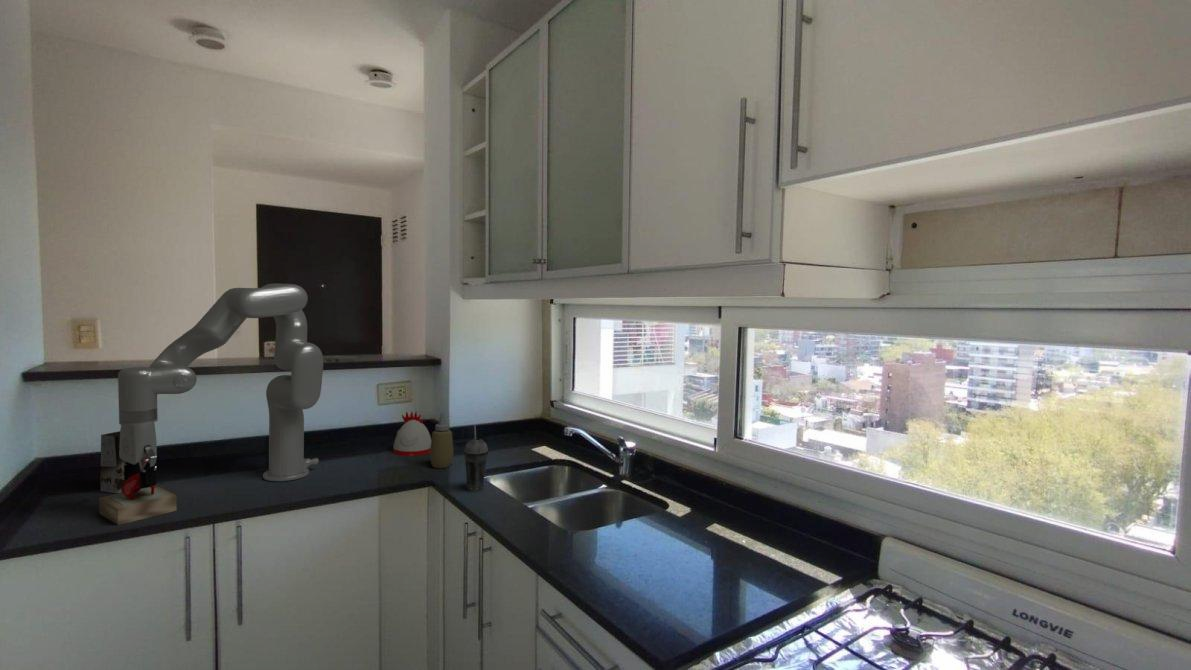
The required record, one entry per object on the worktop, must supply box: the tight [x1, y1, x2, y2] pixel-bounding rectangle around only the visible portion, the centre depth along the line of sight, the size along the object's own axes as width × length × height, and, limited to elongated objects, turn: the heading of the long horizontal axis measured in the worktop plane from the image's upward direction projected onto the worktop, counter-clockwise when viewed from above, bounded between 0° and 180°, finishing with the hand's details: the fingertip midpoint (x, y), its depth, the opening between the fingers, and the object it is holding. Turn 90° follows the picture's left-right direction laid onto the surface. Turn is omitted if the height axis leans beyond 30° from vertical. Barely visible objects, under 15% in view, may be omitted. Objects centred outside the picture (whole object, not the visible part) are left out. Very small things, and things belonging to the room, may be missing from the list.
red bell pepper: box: [121, 473, 157, 499], centre depth 141 cm, size 8×6×6 cm
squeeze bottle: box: [428, 413, 455, 469], centre depth 189 cm, size 8×8×18 cm
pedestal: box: [98, 485, 178, 526], centre depth 141 cm, size 12×12×4 cm
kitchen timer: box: [392, 411, 432, 457], centre depth 207 cm, size 14×14×15 cm
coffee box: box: [100, 431, 146, 494], centre depth 157 cm, size 9×6×16 cm
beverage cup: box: [463, 424, 489, 493], centre depth 167 cm, size 7×7×20 cm
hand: (140, 482), depth 141 cm, fingers open, 9 cm apart
